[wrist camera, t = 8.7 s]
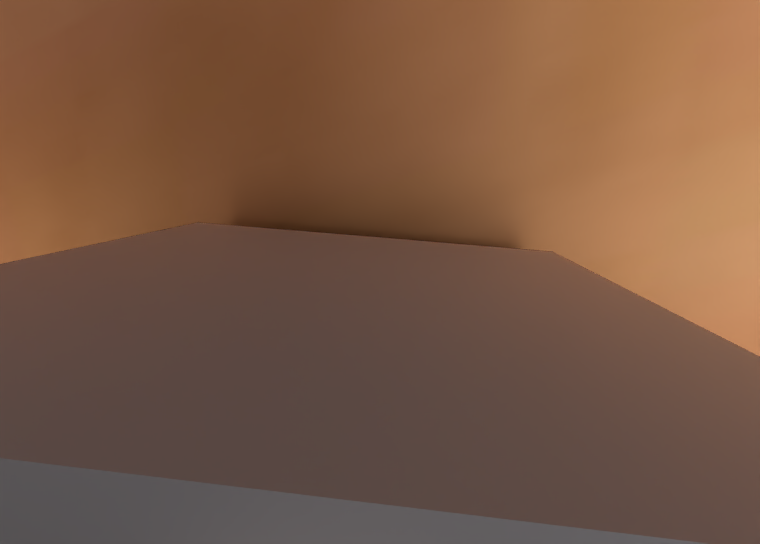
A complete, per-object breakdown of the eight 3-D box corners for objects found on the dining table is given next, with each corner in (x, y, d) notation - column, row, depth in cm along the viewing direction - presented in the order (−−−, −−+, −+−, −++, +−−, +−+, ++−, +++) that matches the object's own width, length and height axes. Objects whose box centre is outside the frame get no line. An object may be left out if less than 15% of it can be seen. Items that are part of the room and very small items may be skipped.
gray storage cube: (198, 222, 11) (-586, 388, 2) (551, 251, 10) (1265, 611, 2) (213, 502, 13) (-129, 1073, 5) (497, 538, 13) (673, 1247, 4)
